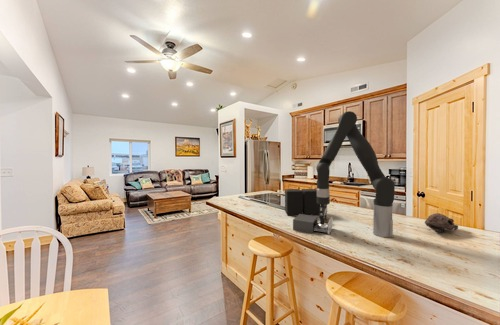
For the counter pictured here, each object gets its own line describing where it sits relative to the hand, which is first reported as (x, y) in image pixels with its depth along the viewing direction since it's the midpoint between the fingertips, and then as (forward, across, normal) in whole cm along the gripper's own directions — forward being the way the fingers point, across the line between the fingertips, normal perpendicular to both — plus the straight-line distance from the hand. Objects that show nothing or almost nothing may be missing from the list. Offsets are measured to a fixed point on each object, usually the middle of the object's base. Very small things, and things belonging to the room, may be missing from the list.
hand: (323, 222), depth 131 cm
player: (+5, 0, +11) cm, 12 cm away
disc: (+4, 0, 0) cm, 4 cm away
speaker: (+5, +31, +21) cm, 38 cm away
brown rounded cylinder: (+5, +14, +1) cm, 15 cm away
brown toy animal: (+6, +28, -61) cm, 68 cm away
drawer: (+4, 0, 0) cm, 4 cm away
